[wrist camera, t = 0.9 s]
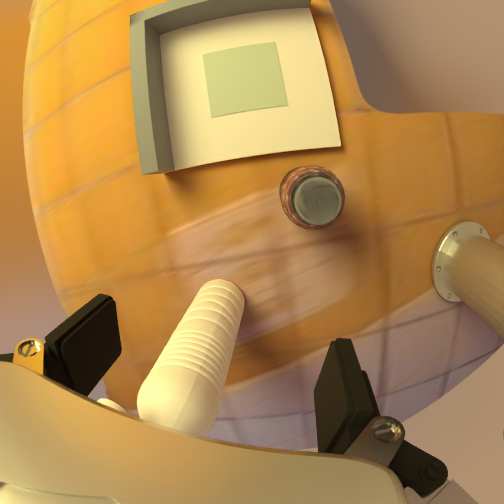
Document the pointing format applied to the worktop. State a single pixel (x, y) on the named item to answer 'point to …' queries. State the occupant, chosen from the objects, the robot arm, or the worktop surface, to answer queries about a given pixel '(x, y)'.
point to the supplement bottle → (312, 197)
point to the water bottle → (193, 363)
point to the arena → (227, 82)
